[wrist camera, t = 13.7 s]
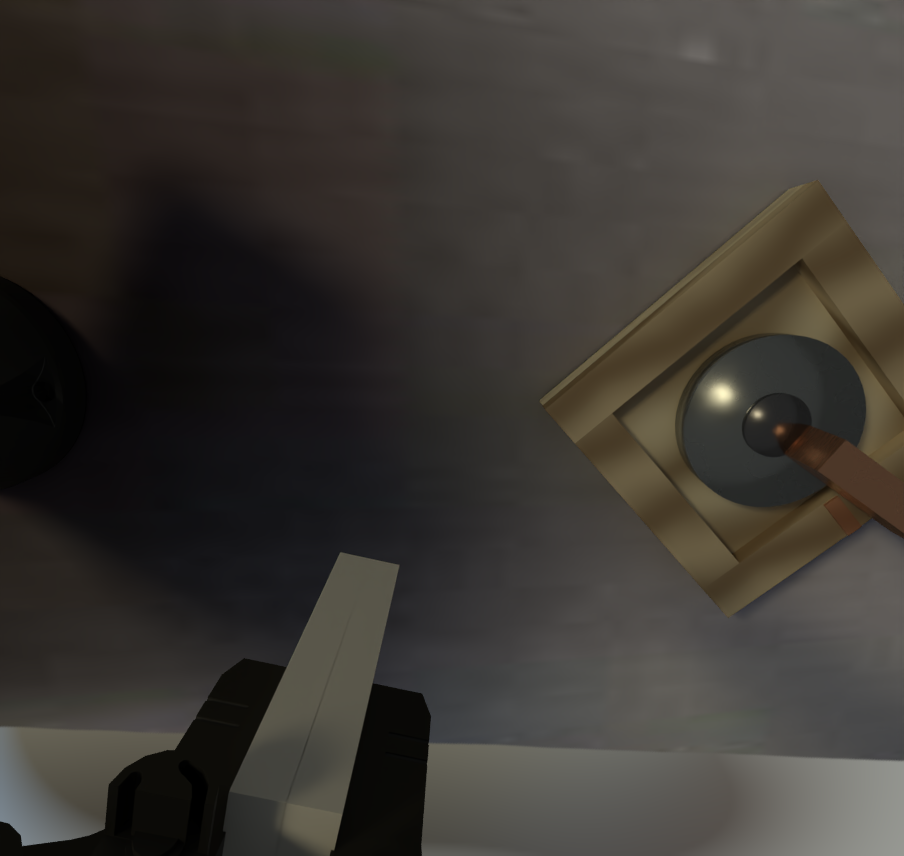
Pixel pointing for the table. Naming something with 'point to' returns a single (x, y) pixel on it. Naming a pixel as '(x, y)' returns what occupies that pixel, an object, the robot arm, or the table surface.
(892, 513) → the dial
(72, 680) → the table surface
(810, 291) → the panel
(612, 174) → the table surface
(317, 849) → the robot arm
